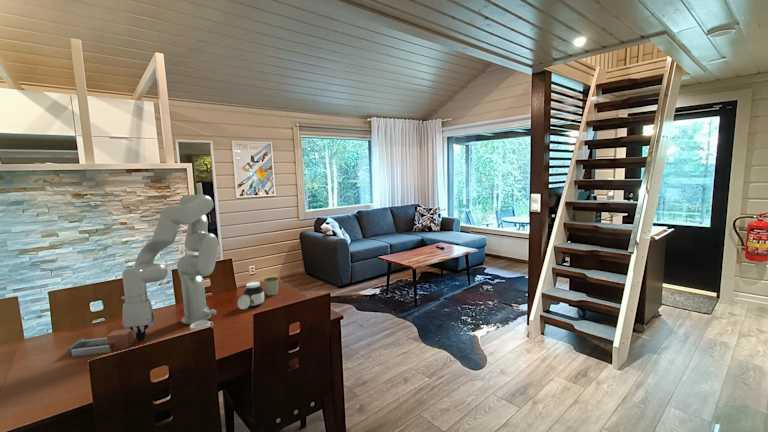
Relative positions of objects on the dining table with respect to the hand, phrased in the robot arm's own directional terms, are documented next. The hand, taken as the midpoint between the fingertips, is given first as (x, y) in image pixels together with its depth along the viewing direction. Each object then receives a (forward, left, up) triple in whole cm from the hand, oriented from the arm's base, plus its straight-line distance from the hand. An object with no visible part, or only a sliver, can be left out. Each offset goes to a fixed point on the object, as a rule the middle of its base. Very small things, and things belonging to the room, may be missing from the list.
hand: (141, 340), depth 149 cm
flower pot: (-48, -48, -2) cm, 68 cm away
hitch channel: (+17, 0, -1) cm, 17 cm away
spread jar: (-39, -31, -2) cm, 50 cm away
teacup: (-23, -1, -2) cm, 23 cm away
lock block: (+7, 0, -2) cm, 8 cm away
